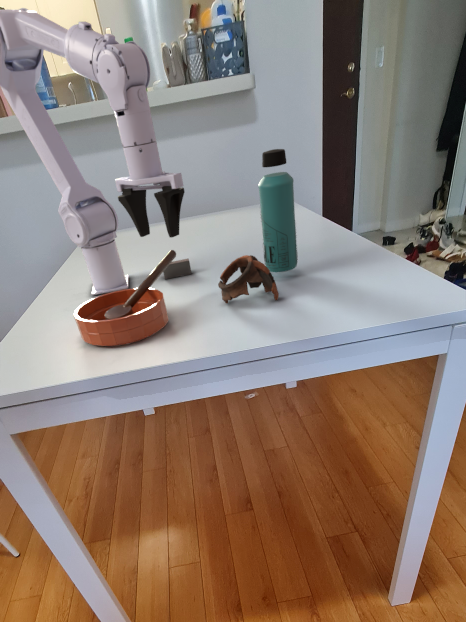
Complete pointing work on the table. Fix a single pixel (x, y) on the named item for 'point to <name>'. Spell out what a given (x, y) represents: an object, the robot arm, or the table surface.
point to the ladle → (140, 290)
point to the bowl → (125, 329)
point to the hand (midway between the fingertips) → (159, 235)
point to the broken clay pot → (246, 278)
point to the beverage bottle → (278, 215)
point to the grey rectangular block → (177, 269)
